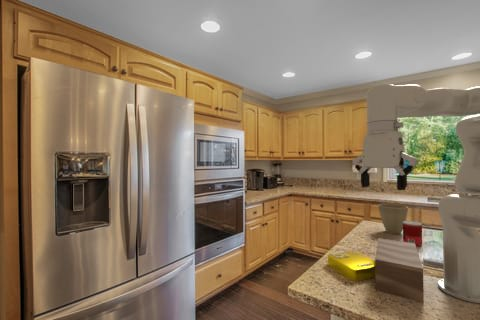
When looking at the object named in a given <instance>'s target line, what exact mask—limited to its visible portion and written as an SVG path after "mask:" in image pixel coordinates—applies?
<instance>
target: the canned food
mask: <svg viewBox="0 0 480 320" xmlns="http://www.w3.org/2000/svg"><path fill="white" fill-rule="evenodd" d="M402 242H408V243H415V245H416V248H418V247H422V245H423V223H421V222H418V221H412V220H406V221H403V230H402Z"/></svg>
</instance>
